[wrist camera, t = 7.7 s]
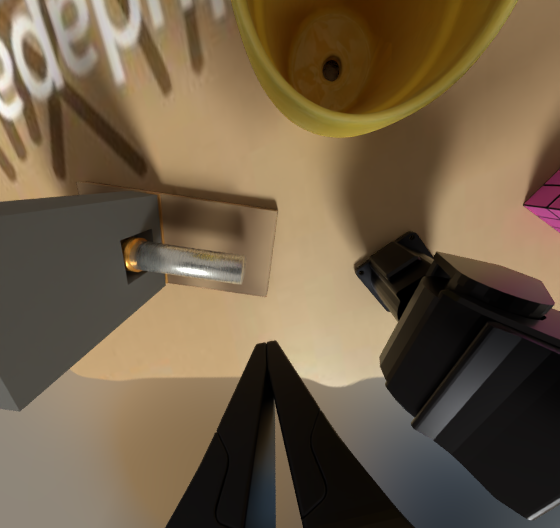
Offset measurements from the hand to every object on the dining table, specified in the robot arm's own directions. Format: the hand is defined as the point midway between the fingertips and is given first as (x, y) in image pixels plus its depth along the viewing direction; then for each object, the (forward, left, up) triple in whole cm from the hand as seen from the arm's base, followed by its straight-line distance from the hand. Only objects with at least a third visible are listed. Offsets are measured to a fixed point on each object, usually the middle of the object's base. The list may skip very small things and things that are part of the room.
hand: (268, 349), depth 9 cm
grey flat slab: (+9, +9, -12) cm, 17 cm away
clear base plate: (+7, +7, -13) cm, 17 cm away
